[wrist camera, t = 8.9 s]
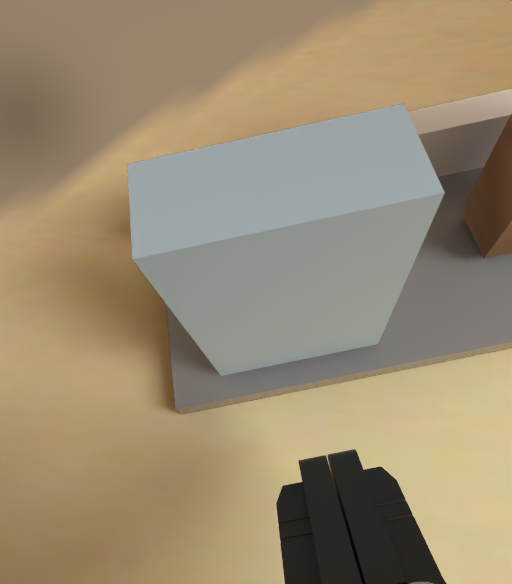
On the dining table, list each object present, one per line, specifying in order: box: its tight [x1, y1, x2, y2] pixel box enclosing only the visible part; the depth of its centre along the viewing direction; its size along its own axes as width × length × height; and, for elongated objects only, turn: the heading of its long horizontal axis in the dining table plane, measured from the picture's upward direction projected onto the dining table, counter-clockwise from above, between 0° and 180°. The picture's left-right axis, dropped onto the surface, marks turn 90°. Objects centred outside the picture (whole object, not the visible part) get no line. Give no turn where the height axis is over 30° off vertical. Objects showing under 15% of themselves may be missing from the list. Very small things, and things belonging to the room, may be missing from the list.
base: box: [166, 89, 512, 414], centre depth 17 cm, size 9×21×4 cm, turn 100°
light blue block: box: [127, 103, 445, 376], centre depth 13 cm, size 2×6×9 cm, turn 100°
